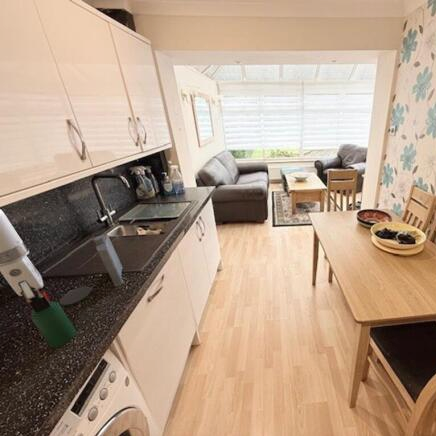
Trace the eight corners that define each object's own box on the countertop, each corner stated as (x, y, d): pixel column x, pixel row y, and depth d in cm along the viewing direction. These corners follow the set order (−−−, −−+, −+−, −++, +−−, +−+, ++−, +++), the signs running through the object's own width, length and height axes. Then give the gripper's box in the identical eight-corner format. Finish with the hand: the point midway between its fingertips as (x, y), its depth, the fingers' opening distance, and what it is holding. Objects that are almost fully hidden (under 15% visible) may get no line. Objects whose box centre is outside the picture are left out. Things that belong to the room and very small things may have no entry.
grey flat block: (123, 284, 99) (104, 243, 90) (112, 288, 97) (91, 247, 88) (122, 266, 111) (105, 228, 102) (112, 269, 109) (93, 231, 100)
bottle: (44, 346, 74) (13, 304, 66) (64, 329, 79) (38, 288, 72) (62, 348, 73) (34, 305, 66) (81, 330, 79) (56, 289, 71)
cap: (45, 306, 69) (39, 298, 67) (28, 310, 68) (22, 302, 66) (52, 296, 72) (47, 289, 71) (36, 300, 71) (31, 292, 70)
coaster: (53, 305, 90) (52, 304, 90) (76, 287, 99) (76, 286, 99) (76, 306, 89) (75, 305, 89) (98, 287, 98) (97, 286, 98)
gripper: (28, 258, 60) (63, 311, 68) (24, 238, 70) (55, 286, 78) (-17, 273, 55) (27, 328, 63) (-14, 250, 65) (23, 300, 73)
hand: (42, 305), depth 70 cm, fingers closed on cap, 3 cm apart
